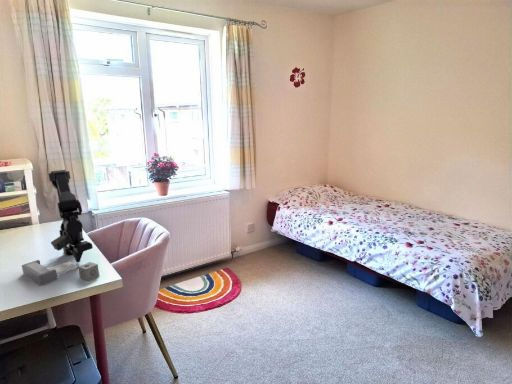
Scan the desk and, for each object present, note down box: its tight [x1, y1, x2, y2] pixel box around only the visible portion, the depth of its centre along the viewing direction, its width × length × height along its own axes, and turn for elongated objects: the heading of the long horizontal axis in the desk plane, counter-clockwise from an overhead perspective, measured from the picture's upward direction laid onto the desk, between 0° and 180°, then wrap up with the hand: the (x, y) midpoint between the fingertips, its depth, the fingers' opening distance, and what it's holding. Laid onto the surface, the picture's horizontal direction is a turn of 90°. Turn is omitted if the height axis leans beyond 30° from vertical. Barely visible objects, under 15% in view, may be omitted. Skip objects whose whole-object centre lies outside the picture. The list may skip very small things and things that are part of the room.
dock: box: [21, 259, 58, 287], centre depth 136 cm, size 6×17×4 cm, turn 52°
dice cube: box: [77, 261, 100, 282], centre depth 134 cm, size 5×5×5 cm
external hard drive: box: [46, 261, 78, 276], centre depth 141 cm, size 2×8×12 cm
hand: (78, 262), depth 147 cm, fingers closed
